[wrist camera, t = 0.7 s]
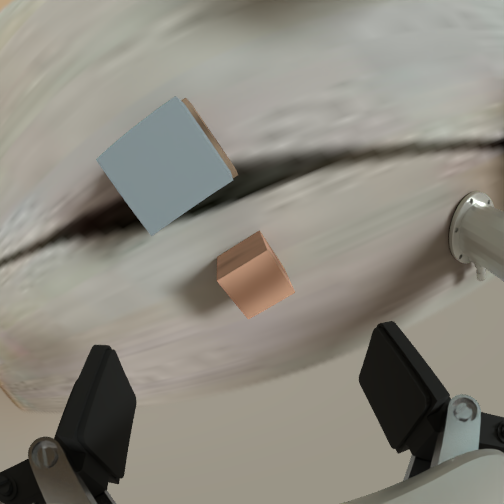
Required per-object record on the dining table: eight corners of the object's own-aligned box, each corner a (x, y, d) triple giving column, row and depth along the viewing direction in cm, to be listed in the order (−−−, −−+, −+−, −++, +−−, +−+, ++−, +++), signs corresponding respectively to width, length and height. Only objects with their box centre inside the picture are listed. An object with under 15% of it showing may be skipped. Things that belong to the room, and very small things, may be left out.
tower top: (231, 172, 26) (233, 180, 21) (162, 218, 27) (151, 236, 22) (184, 103, 23) (175, 96, 18) (116, 154, 24) (95, 159, 19)
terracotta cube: (284, 267, 36) (295, 292, 30) (244, 291, 36) (248, 319, 31) (259, 230, 33) (267, 250, 28) (217, 256, 34) (216, 280, 29)
